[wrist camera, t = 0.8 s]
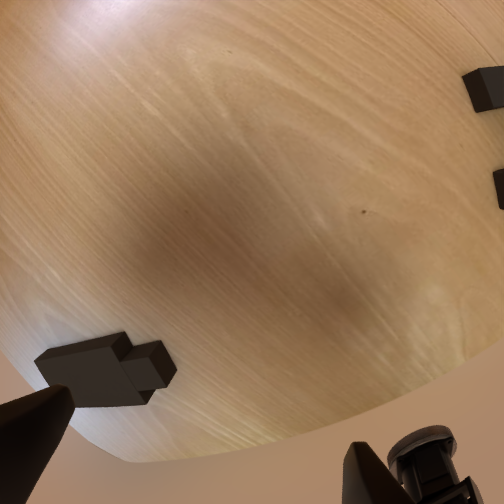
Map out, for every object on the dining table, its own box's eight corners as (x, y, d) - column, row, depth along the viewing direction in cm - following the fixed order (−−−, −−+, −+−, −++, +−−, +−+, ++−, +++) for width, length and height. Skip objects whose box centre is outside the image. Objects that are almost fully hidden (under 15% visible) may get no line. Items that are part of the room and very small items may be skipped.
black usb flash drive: (185, 383, 24) (176, 402, 22) (75, 394, 27) (63, 407, 25) (152, 323, 23) (139, 339, 20) (47, 349, 26) (33, 360, 24)
